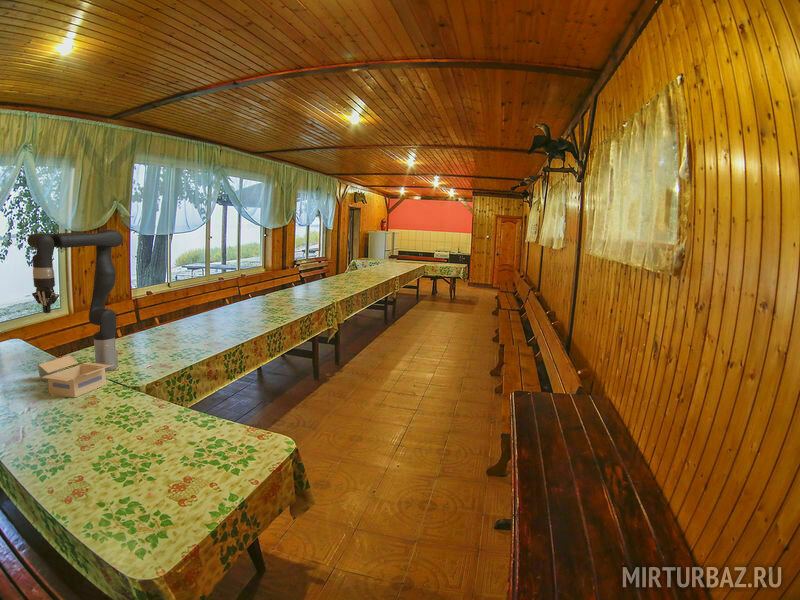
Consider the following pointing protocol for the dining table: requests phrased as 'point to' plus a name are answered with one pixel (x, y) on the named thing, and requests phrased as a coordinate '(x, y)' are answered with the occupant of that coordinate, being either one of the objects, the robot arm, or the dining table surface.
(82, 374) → the flap
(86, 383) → the carton
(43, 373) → the cup
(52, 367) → the flap
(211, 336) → the dining table surface
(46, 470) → the dining table surface
